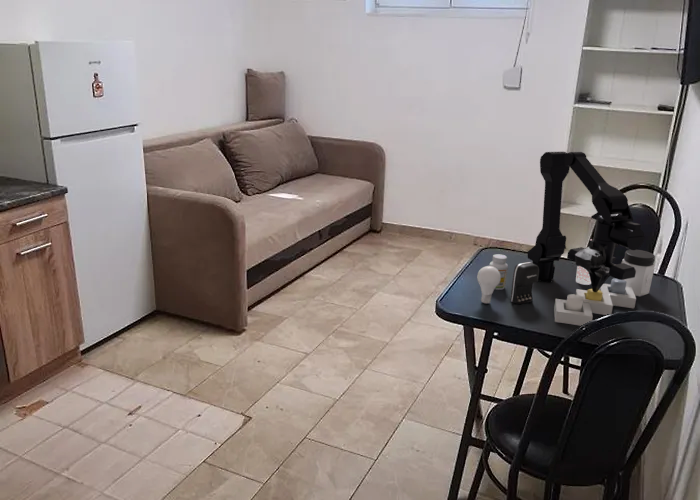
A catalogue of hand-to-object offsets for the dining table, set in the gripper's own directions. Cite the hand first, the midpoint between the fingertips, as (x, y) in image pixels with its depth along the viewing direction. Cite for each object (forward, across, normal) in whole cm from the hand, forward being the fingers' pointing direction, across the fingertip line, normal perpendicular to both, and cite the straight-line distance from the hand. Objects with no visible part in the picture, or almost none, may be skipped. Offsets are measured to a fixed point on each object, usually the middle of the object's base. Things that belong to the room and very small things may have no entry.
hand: (594, 291), depth 173 cm
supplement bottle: (+5, -23, -16) cm, 28 cm away
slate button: (+3, -1, +11) cm, 11 cm away
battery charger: (+5, -10, -16) cm, 20 cm away
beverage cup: (+5, -15, +13) cm, 21 cm away
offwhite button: (+3, +3, -11) cm, 12 cm away
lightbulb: (+5, -14, -27) cm, 31 cm away
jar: (+5, -4, +22) cm, 23 cm away
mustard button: (+4, 0, 0) cm, 4 cm away
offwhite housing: (+5, +3, -11) cm, 13 cm away
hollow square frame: (+5, 0, 0) cm, 5 cm away
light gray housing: (+5, -1, +11) cm, 12 cm away
